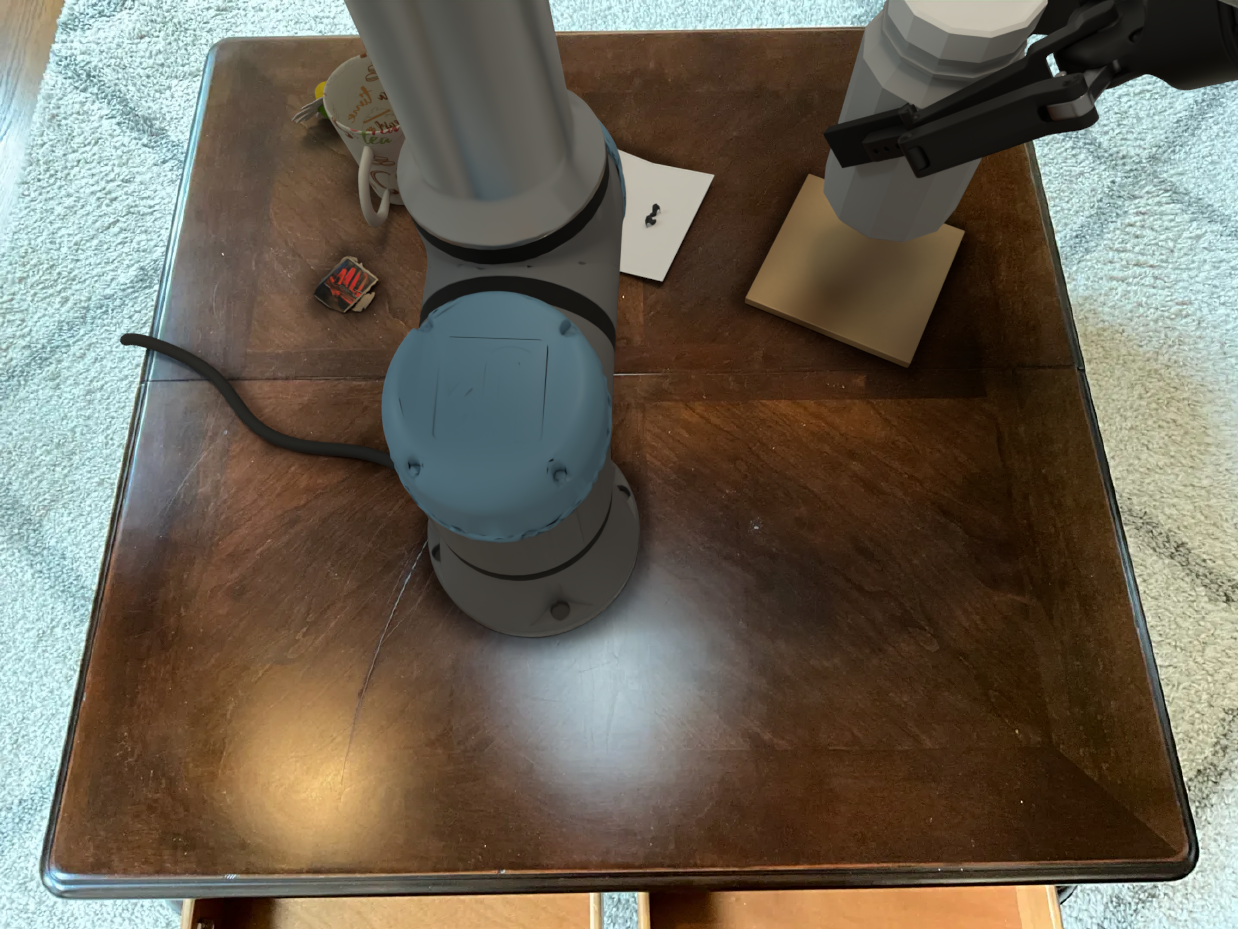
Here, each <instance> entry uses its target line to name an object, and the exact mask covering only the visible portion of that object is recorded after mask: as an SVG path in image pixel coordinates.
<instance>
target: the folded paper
mask: <svg viewBox="0 0 1238 929" xmlns="http://www.w3.org/2000/svg"><path fill="white" fill-rule="evenodd" d="M618 152H619V155H620V159H621V163H622V169H623V175H624V179H625V186H626V213H625V217H624V220H623V226H622V243H621V260H620V273H621V272H622V273H625V274H630V275H633V276H637V277H643V278H645V279H646V278H647V279H652V280H655V281H660V282H663V281H664V279H665V277H666V275H667V273H668V271H669V269H670V267H671V265H672V263H673V261H674V258H675V256H676V254H678V251H679V248H680V246H681V244H682V242H683V240H684V239H685V237H686V234H687V233H688V230H689V228H690V226H691V225H692V223H693V220H694V218H695V217H696V214H697V212H698V210H699V208H700V206H701V204H702V202H703V200H704V198H705V196H706V194H707V192H708V190H709V187H710V186H711V184H712V181H713V179H714V177H715V174H711V173H706V172H701V171H697V170H691V169H685V168H680V167H674V166H669V165H665V164H659V163H654V162H651V161H648V160H646V159H643V158H641V157H638V156H636V155H633V154H631V153H628V152H625V151H623V150H620V149H618Z"/></svg>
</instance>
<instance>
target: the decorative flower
mask: <svg viewBox="0 0 1238 929" xmlns="http://www.w3.org/2000/svg"><path fill="white" fill-rule="evenodd" d="M326 82H327V80H325V81H324V80H323V81H321V82H320V83H318V84H317V85H316V88H315V90H314V97H315V100H313V101H312V102H309V103H307V104H305V105H304V106H302V107H301V108H300V109H299V110H300V111H299V112H297V113H296V114H295V115H294V116H293V117H292V118H291V122H295V123H296V125H298V124H300V123H301V122H303V121H304V122H307V121H309V120H311V118H314V117H316V119H320V118H322V117H324V118H326V119H327V120H328V121H329V120H330V119H329V117H328V115H327V113H326V110H325V107H324V103H323V91H324V87H325V84H326ZM330 121H331V120H330Z"/></svg>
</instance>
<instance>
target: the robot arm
mask: <svg viewBox="0 0 1238 929" xmlns="http://www.w3.org/2000/svg"><path fill="white" fill-rule="evenodd" d="M343 2H344V4H345V7H346V9H347V11H348V13H349V16H350V17H351V19H352V22H353V24H354V26H355V28H356V31H357V33H358V35H359V38H360V40H361V43H362V44H363V47H364V49H365V52H366V53H368V55H369V58H370V60H371V62H372V64H373V67H374V69H375V71H376V73H377V75H378V78H379V80H380V82H381V84H382V87H383V89H384V91H385V93H386V96H387V98H388V100H389V102H390V104H391V107H392V109H393V111H394V113H395V116H396V118H397V120H398V122H399V124H400V127H401V129H402V131H403V133H404V136H405V138H406V139H405V141H404V143H403V146H402V148H401V151H400V155H399V159H398V164H397V183H398V187H399V191H400V195H401V198H402V200H403V202H404V204H405V205H404V207H405V208H406V210H407V212H408V214H409V217H410V219H411V220H412V221H411V222H412V224H413V225H414V227H415V229H416V231H417V233H418V235H419V237H420V238H421V241H422V243H423V245H424V248H425V251H426V252H425V253H426V264H427V265H426V266H427V267H426V275H425V281H424V288H423V293H422V301H421V308H420V312H419V313H420V314H419V323H418V328H415V327H414V328H411V329H410V330H409V332H408V333H407V334H406V336H405V337H404V338H403V340H402V341H401V343H400V344H399V345H398V347H397V349H396V350H395V353H394V355H393V356H392V359H391V361H390V363H389V364H388V368H387V371H386V374H385V377H384V382H383V387H382V394H381V419H382V420H381V421H382V430H383V434H384V437H385V441H386V445H387V447H388V450H389V453H388V452H386V451H383V450H380V449H377V448H373V447H369V446H364V445H359V444H353V443H342V442H331V441H317V440H311V439H304V438H300V437H299V438H298V437H295V436H292V435H288V434H285V433H282V432H280V431H278V430H276V429H274V428H272V427H271V426H269V425H267V424H265V423H264V422H263V421H261V420H260V419H259V418H258V417H257V416H256V415H254V413H253V412H252V411H251V409H250V408H249V407H248V405H246V403H245V402H244V400H243V398H241V397H240V395H239V393H238V392H237V390H236V389H235V388H234V387H233V385H232V384H231V383H230V382H229V380H227V378H226V377H225V376H224V375H223V374H222V372H220V371H219V370H218V369H217V368H215V367H214V365H211V364H210V363H208V362H207V361H206V360H204V359H202V358H201V357H199V356H197V355H195V354H194V353H192V352H189V350H186V349H183V348H181V347H180V346H177V345H175V344H173V343H170V342H168V341H166V340H162V339H159V338H156V337H154V336H150V335H146V334H143V333H137V332H127V333H124V334H122V335H121V336H120V339H119V343H120V344H121V345H122V346H125V347H128V346H129V347H130V346H134V347H140V348H143V349H146V350H149V351H150V350H151V351H154V352H156V353H159V354H162V355H164V356H166V357H169V358H170V359H174V360H175V361H178V362H180V363H182V364H184V365H185V366H188V367H189V368H191V369H193V370H195V371H197V372H198V373H200V374H201V375H202V376H204V377H205V378H206V379H207V380H209V382H211V383H212V384H213V386H215V387H216V389H218V391H219V392H220V394H221V395H222V397H223V398H224V399H225V401H226V402H227V403H228V405H229V407H230V408H231V409H232V411H233V412H234V413H235V415H236V416H237V417H238V418H239V419H240V420H241V422H242V423H243V424H244V425H245V426H246V427H247V428H248V429H249V430H251V432H253V433H254V434H256V435H257V436H258V437H259V438H261V439H263V440H265V441H267V442H268V443H271V444H273V445H274V446H278V447H281V448H283V449H286V450H291V451H294V452H298V453H304V454H310V455H319V456H321V455H322V456H331V457H333V456H334V457H344V458H352V459H358V460H363V461H367V462H370V463H371V462H372V463H374V464H378V465H380V466H383V467H386V468H388V469H391V470H393V471H394V472H396V473H397V475H398V477H399V480H400V482H401V484H402V486H403V488H404V489H405V490H406V491H407V493H408V494H409V496H410V497H411V500H413V502H414V503H415V504H416V506H417V507H418V508H419V509H421V510H422V511H423V512H424V514H425V516H426V517H427V518H428V519H427V520H428V521H427V544H428V545H427V546H428V552H429V557H430V562H431V565H432V567H433V568H432V569H433V571H434V573H435V575H436V577H437V579H438V582H439V583H440V585H441V587H442V589H443V590H444V591H445V593H446V594H447V595H448V597H449V598H450V600H452V602H453V603H454V604H455V605H456V606H457V607H458V608H459V610H461V611H462V612H463V613H464V614H465V615H466V616H468V617H469V618H471V619H472V620H473V621H475V622H476V623H478V624H480V625H482V626H483V627H486V628H487V629H491V630H492V631H495V632H498V633H501V634H503V635H508V636H514V637H521V638H541V637H549V636H555V635H559V634H562V633H566V632H569V631H571V630H574V629H576V628H579V627H581V626H583V625H585V624H587V623H588V622H590V621H592V620H593V619H594V618H596V617H597V616H599V615H600V614H602V612H604V611H605V610H606V609H607V608H608V607H609V606H610V605H611V604H612V603H613V602H614V601H615V600H616V599H617V597H618V596H619V595H620V593H621V592H622V590H623V589H624V587H625V586H626V585H627V582H628V581H629V579H630V577H631V574H632V572H633V570H634V567H635V563H636V560H637V558H638V553H639V546H640V529H641V528H640V526H641V525H640V515H639V510H638V505H637V501H636V499H635V495H634V493H633V491H632V488H631V486H630V483H629V482H628V480H627V478H626V476H625V475H624V473H623V472H622V470H621V469H620V467H619V466H618V465H617V464H616V463H615V461H614V460H613V459H612V457H611V456H612V454H611V452H612V444H611V443H612V432H613V430H612V429H613V401H614V400H613V398H614V379H615V362H616V361H615V359H616V358H615V357H616V340H617V327H618V326H617V325H618V308H619V307H618V306H619V293H620V292H619V290H620V276H621V271H620V260H621V243H622V226H623V220H624V217H625V213H626V186H625V179H624V175H623V169H622V163H621V159H620V155H619V152H618V150H619V148H618V147H617V144H616V143H615V141H614V139H613V137H612V135H611V134H610V132H609V131H608V129H607V128H606V127H605V125H604V124H603V123H602V122H601V121H600V119H599V118H598V117H597V115H596V114H595V113H594V112H595V111H593V110H592V108H591V107H590V106H589V105H588V104H587V102H586V100H583V98H581V96H579V95H577V94H576V93H574V92H573V91H572V90H570V89H567V83H566V80H565V74H564V73H565V72H564V69H563V64H562V59H561V53H560V48H559V43H558V39H557V34H556V29H555V24H554V18H553V15H552V9H551V3H550V0H343ZM1033 35H1034V36H1035V35H1037V36H1044V37H1042V38H1040V39H1037V40H1036V41H1034V42H1033V43H1031V44H1029V46H1027V50H1026V52H1025V57H1023V58H1022V59H1020V60H1018V61H1016V62H1014V63H1012V64H1010V65H1008V66H1006V67H1004V68H1002V69H1000V70H998V71H996V72H994V73H992V74H990V75H989V76H987V77H985V78H983V79H981V80H979V81H977V82H975V83H973V84H971V85H969V86H967V87H965V88H963V89H961V90H959V91H957V92H955V93H953V94H951V95H949V96H947V97H945V98H943V99H941V100H939V101H937V102H935V103H933V104H931V105H929V106H927V107H925V108H923V109H921V110H919V111H917V110H916V107H915V105H914V104H912V105H910V104H909V102H908V103H906V104H905V105H903V106H902V107H900V108H897V109H893V110H889V111H885V112H881V113H878V114H874V115H870V116H866V117H863V118H859V119H855V120H851V121H848V122H844V123H840V124H838V123H837V124H833V125H829V126H827V128H826V130H824V132H823V133H822V135H823V137H824V140H825V141H826V142H827V144H828V145H829V147H830V149H832V151H833V153H834V155H835V157H836V158H837V160H838V162H839V164H840V165H841V167H842V168H847V167H852V166H856V165H861V164H866V163H871V162H880V161H884V160H889V159H894V158H899V157H904V156H905V158H906V159H907V161H908V163H909V165H910V167H911V169H912V171H913V173H914V175H915V177H916V178H923V177H926V176H929V175H932V174H935V173H938V172H941V171H944V170H947V169H950V168H953V167H956V166H959V165H961V164H964V163H967V162H970V161H973V160H976V159H979V158H982V159H983V158H984V157H988V156H991V155H994V154H997V153H1001V152H1004V151H1006V150H1009V149H1012V148H1014V147H1017V146H1020V145H1025V144H1027V143H1030V142H1032V141H1035V140H1038V139H1042V138H1045V137H1048V136H1052V135H1058V134H1066V133H1072V132H1078V131H1084V130H1087V129H1089V128H1091V127H1093V126H1094V125H1095V124H1096V123H1097V122H1098V121H1099V120H1100V114H1099V112H1098V110H1097V108H1096V104H1095V103H1096V102H1097V101H1098V99H1099V98H1100V97H1101V95H1102V94H1103V93H1104V91H1107V90H1111V89H1115V88H1118V87H1119V86H1122V85H1124V84H1126V83H1128V82H1131V81H1133V80H1135V79H1136V80H1137V79H1138V78H1141V77H1143V76H1147V75H1148V76H1152V77H1155V78H1157V79H1159V80H1161V81H1163V82H1164V83H1166V84H1167V85H1168V86H1169V87H1171V88H1173V89H1176V90H1178V91H1185V92H1186V91H1187V92H1188V91H1193V90H1198V89H1203V88H1208V87H1213V86H1217V85H1221V84H1227V83H1231V82H1235V81H1238V0H1048V4H1047V6H1046V8H1045V10H1044V11H1043V13H1042V15H1041V17H1040V19H1039V21H1038V23H1037V25H1036V27H1035V29H1034V30H1033V32H1032V33H1031V34H1030V35H1029V36H1028V37H1027V40H1028V39H1029V38H1031V37H1032V36H1033ZM1050 55H1052V57H1053V60H1054V62H1055V65H1056V67H1057V70H1058V72H1057V73H1056V74H1055V75H1054V74H1053V71H1052V69H1051V67H1050V64H1049V62H1048V59H1047V58H1048V57H1049V56H1050Z"/></svg>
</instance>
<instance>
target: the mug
mask: <svg viewBox="0 0 1238 929" xmlns="http://www.w3.org/2000/svg"><path fill="white" fill-rule="evenodd" d="M326 81H327V82H326V84H325V87H324V91H323V103H324V107H325V110H326V113H327V115H328V117H329V119H330V122H331V124H332V125H333V127H334V128H335V130H336V132H337V133H338V135H339V137H340V138H341V140H342V141H343V143H344V144H345V146H346V148H347V149H348V151H349V152H350V154H351V156H352V158H353V159H354V161H355V162H356V164H357V165H358V167H359V168H358V175H357V178H358V179H357V182H358V196H359V202H360V207H361V211H362V215H363V218H364V220H365V221H366V222H367V224H368V225H369V226H370V227H371V228H374V229H378V228H380V227H381V226H382V225H383V224H384V223H385V222H386V221H387V219H388V217H389V211H390V204H392V205H398V206H405V204H404V202H403V200H402V198H401V195H400V191H399V187H398V183H397V164H398V159H399V155H400V151H401V148H402V146H403V143H404V141H405V139H406V138H405V136H404V133H403V131H402V129H401V127H400V124H399V122H398V120H397V118H396V116H395V113H394V111H393V109H392V107H391V104H390V102H389V100H388V98H387V96H386V93H385V91H384V89H383V87H382V84H381V82H380V80H379V78H378V75H377V73H376V71H375V69H374V67H373V64H372V62H371V60H370V58H369V55H368V53H367V52H365V53H361V54H357V55H356V56H353V57H351V58H349V59H347V60H345V61H344V62H342V63H341V64H340V65H338V67H336V68H335V69H334V71H332V72H331V74H330V75H329V77H328V78H327V79H326ZM329 119H328V120H329ZM370 187H372V190H373V191H374V192H375V194H377V196H378V197H379V198H380V199H381V201H380V205H379V207H378V211H377V212H376V211H375V210H374V207H373V204H372V199H371V190H370Z"/></svg>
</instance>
